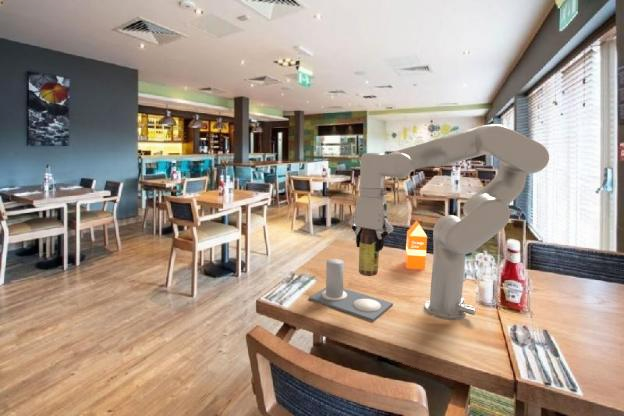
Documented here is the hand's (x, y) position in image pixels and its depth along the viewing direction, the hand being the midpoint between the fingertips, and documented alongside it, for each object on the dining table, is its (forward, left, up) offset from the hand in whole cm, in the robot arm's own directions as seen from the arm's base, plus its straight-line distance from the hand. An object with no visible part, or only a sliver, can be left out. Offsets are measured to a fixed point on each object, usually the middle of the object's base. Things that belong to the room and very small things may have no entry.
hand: (369, 247), depth 113 cm
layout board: (+6, 0, -21) cm, 22 cm away
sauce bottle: (0, 0, -9) cm, 9 cm away
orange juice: (+3, -50, -21) cm, 54 cm away
